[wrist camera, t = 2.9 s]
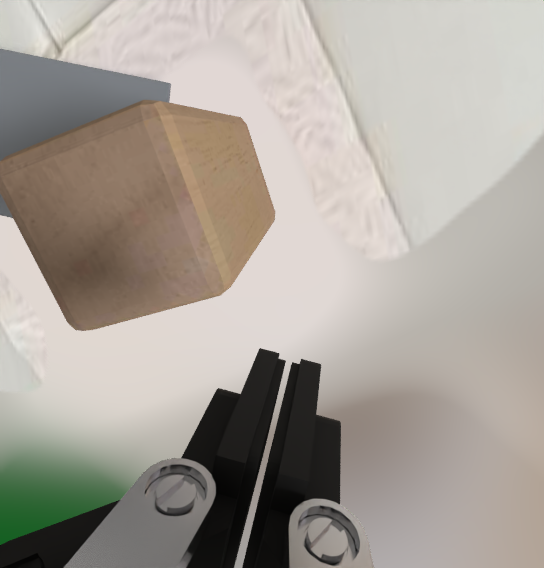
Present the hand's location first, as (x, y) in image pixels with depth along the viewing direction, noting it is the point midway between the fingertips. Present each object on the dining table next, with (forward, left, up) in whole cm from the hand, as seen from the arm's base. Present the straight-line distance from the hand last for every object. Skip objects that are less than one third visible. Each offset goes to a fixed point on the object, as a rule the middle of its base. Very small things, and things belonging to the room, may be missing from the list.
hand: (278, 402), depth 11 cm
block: (+11, 0, -29) cm, 31 cm away
